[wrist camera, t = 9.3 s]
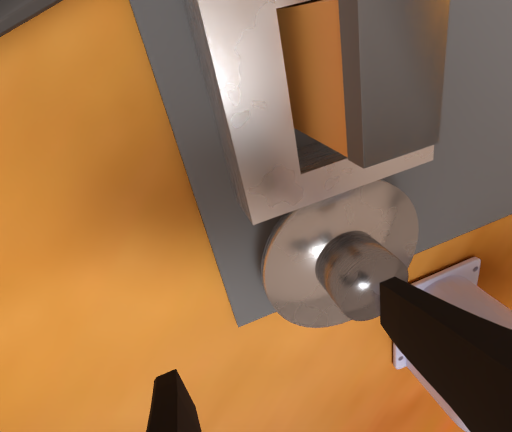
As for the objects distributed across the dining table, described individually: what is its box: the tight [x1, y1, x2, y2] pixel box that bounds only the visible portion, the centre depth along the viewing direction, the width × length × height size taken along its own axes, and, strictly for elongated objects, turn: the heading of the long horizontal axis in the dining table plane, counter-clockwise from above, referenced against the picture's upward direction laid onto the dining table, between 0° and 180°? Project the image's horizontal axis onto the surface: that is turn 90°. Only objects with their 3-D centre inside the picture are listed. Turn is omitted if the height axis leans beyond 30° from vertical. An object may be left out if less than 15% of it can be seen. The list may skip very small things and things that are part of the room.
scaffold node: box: [183, 0, 434, 328], centre depth 16 cm, size 26×10×5 cm, turn 12°
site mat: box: [129, 0, 512, 327], centre depth 19 cm, size 24×24×1 cm
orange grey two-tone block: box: [276, 0, 451, 169], centre depth 14 cm, size 5×3×7 cm, turn 11°
